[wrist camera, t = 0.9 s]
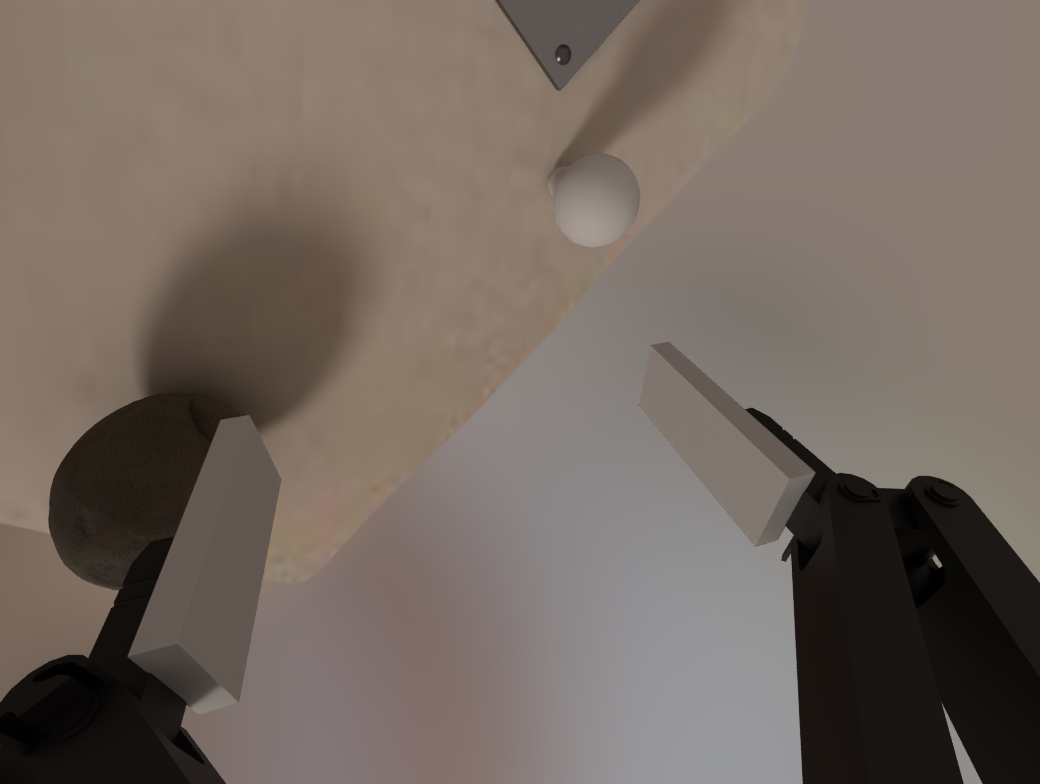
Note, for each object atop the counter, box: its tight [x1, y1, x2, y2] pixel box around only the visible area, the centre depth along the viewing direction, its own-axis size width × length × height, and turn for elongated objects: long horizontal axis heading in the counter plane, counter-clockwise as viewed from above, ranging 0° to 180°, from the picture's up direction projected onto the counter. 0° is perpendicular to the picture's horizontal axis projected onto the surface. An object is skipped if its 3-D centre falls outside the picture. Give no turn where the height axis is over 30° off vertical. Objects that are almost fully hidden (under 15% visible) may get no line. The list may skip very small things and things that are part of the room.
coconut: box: [48, 393, 240, 590], centre depth 36 cm, size 14×14×15 cm
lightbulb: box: [547, 153, 640, 247], centre depth 33 cm, size 6×6×11 cm
